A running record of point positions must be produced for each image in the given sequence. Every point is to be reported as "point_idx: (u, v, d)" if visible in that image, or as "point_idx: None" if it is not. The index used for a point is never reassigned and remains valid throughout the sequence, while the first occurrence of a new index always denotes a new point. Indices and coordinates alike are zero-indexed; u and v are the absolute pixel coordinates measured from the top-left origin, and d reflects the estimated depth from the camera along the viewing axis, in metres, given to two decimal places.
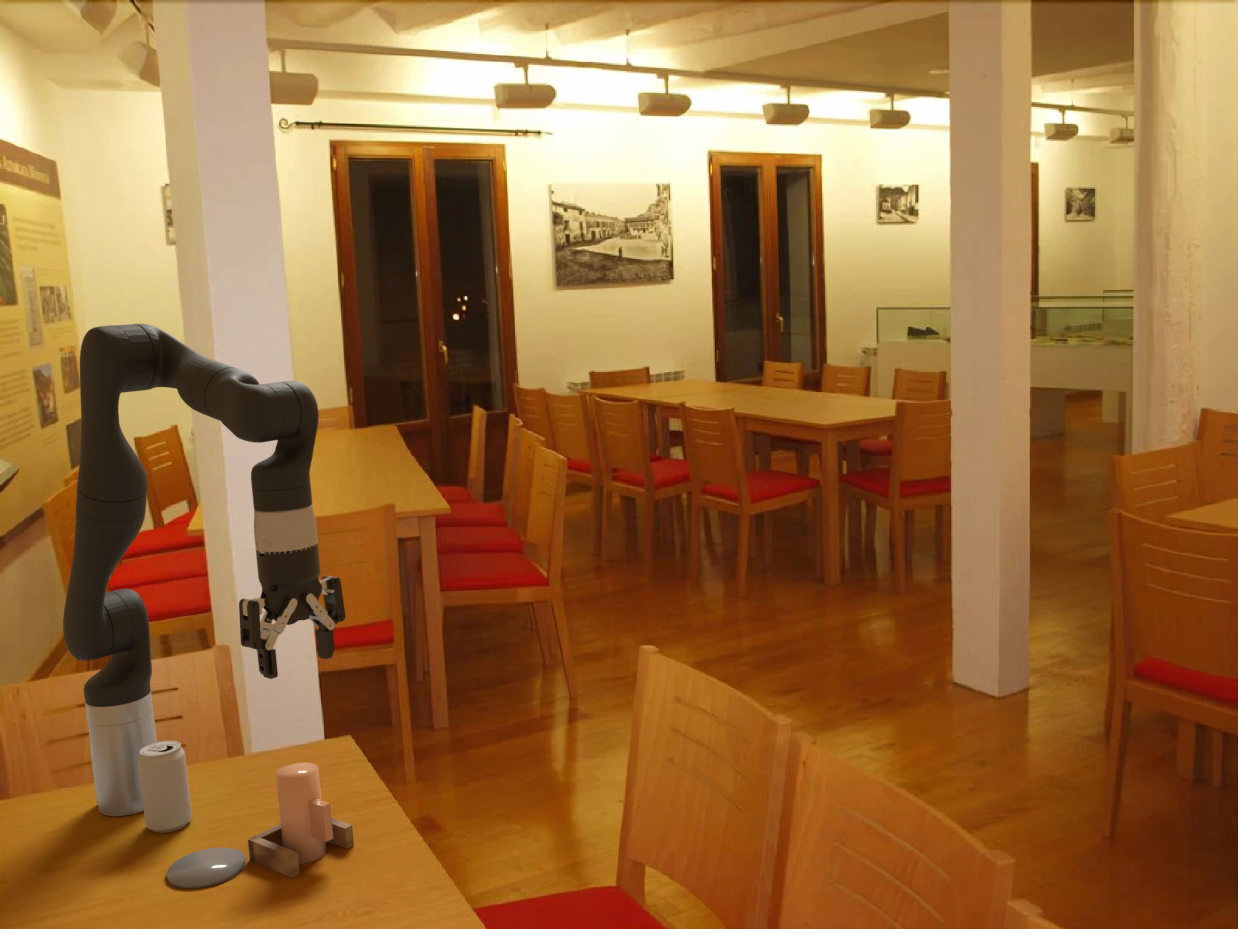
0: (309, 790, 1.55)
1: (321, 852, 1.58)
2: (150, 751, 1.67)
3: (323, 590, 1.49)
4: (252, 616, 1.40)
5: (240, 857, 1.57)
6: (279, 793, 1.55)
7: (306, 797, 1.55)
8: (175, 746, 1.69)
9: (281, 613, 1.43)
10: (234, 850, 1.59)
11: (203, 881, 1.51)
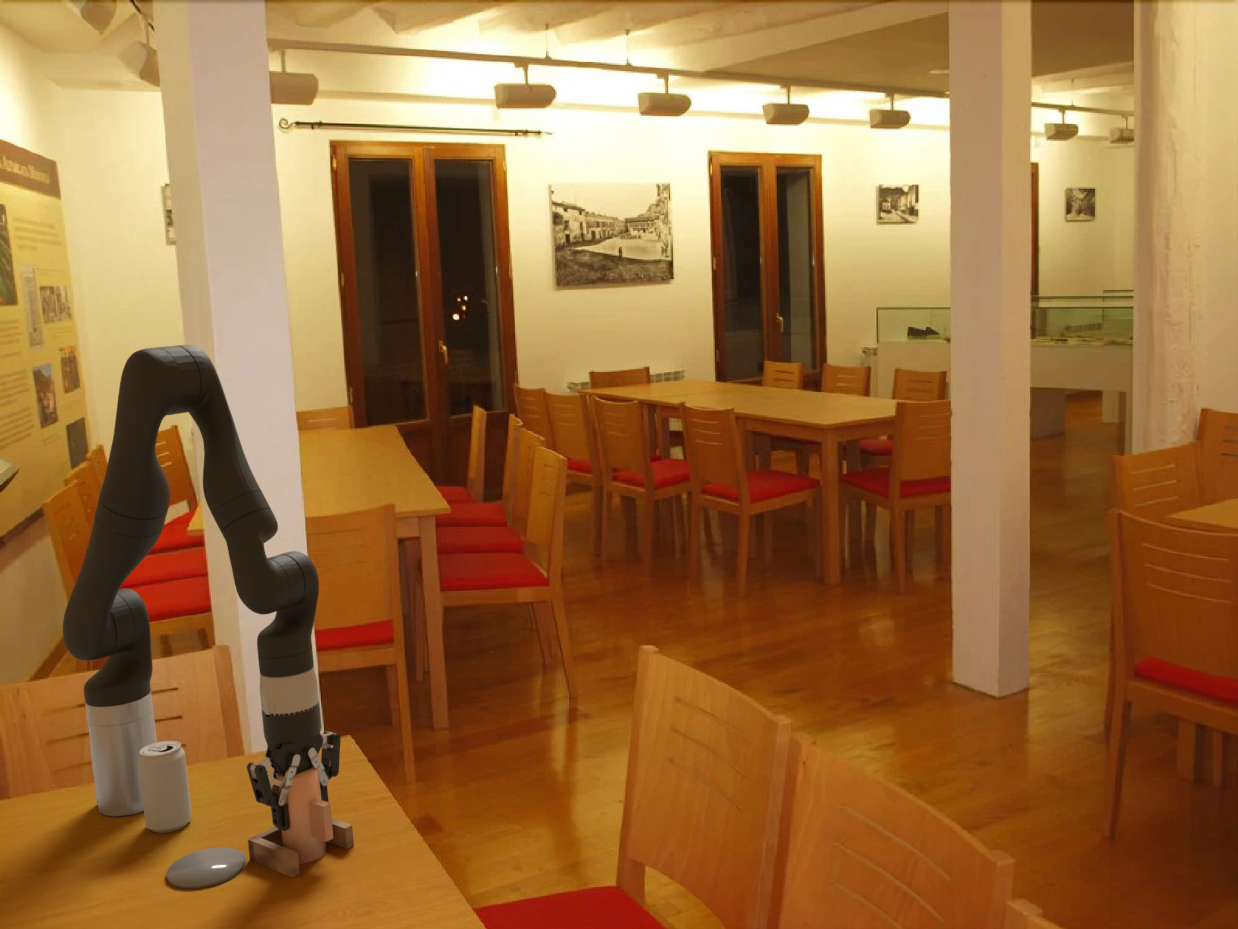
0: (309, 790, 1.55)
1: (321, 852, 1.58)
2: (150, 751, 1.67)
3: (323, 744, 1.60)
4: (261, 780, 1.51)
5: (240, 857, 1.57)
6: None
7: (306, 797, 1.55)
8: (175, 746, 1.69)
9: (287, 770, 1.54)
10: (234, 850, 1.59)
11: (203, 881, 1.51)
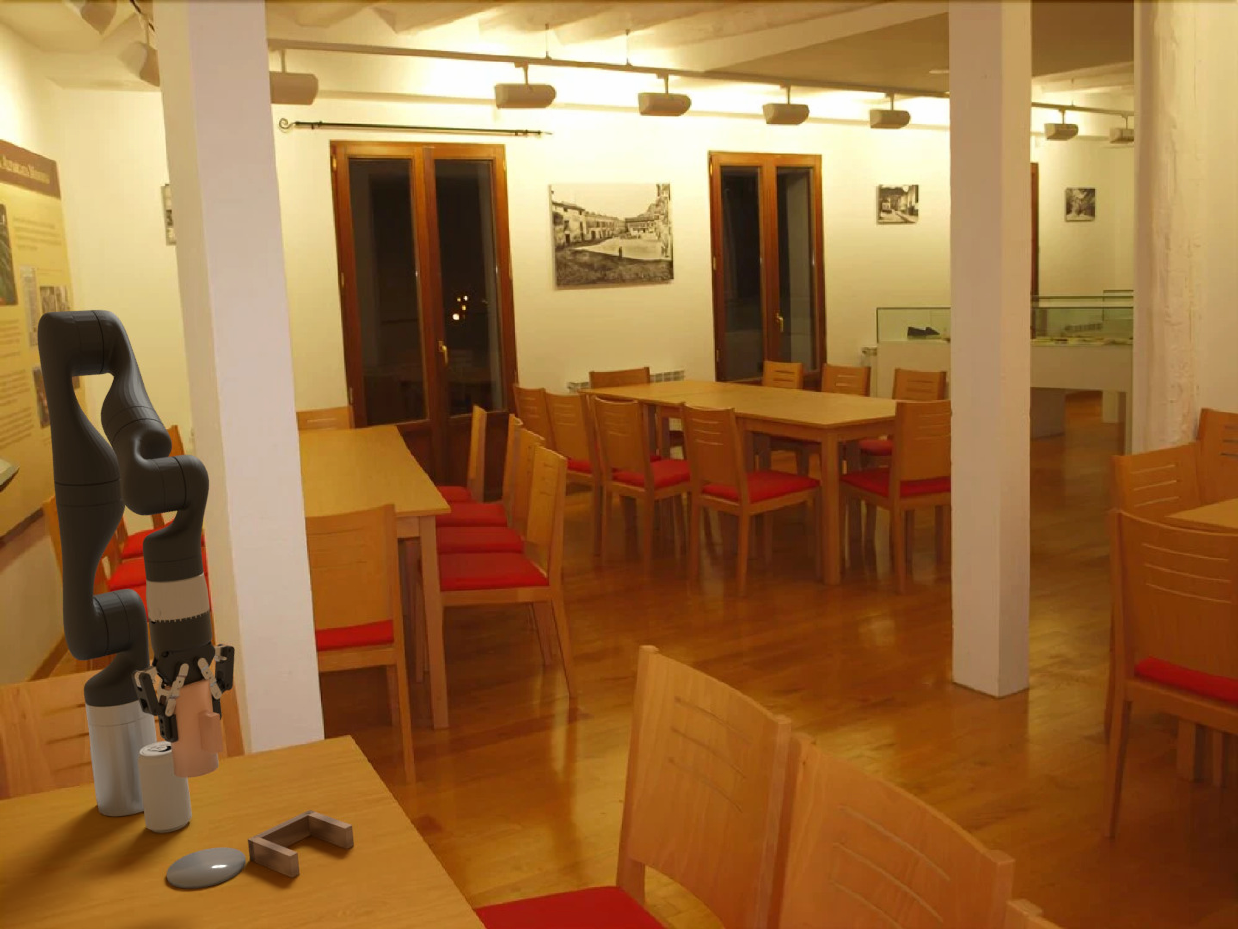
0: (199, 701, 1.50)
1: (212, 766, 1.53)
2: (150, 751, 1.67)
3: (216, 656, 1.55)
4: (145, 688, 1.46)
5: (240, 857, 1.57)
6: None
7: (195, 708, 1.50)
8: None
9: (174, 680, 1.49)
10: (234, 850, 1.59)
11: (203, 881, 1.51)
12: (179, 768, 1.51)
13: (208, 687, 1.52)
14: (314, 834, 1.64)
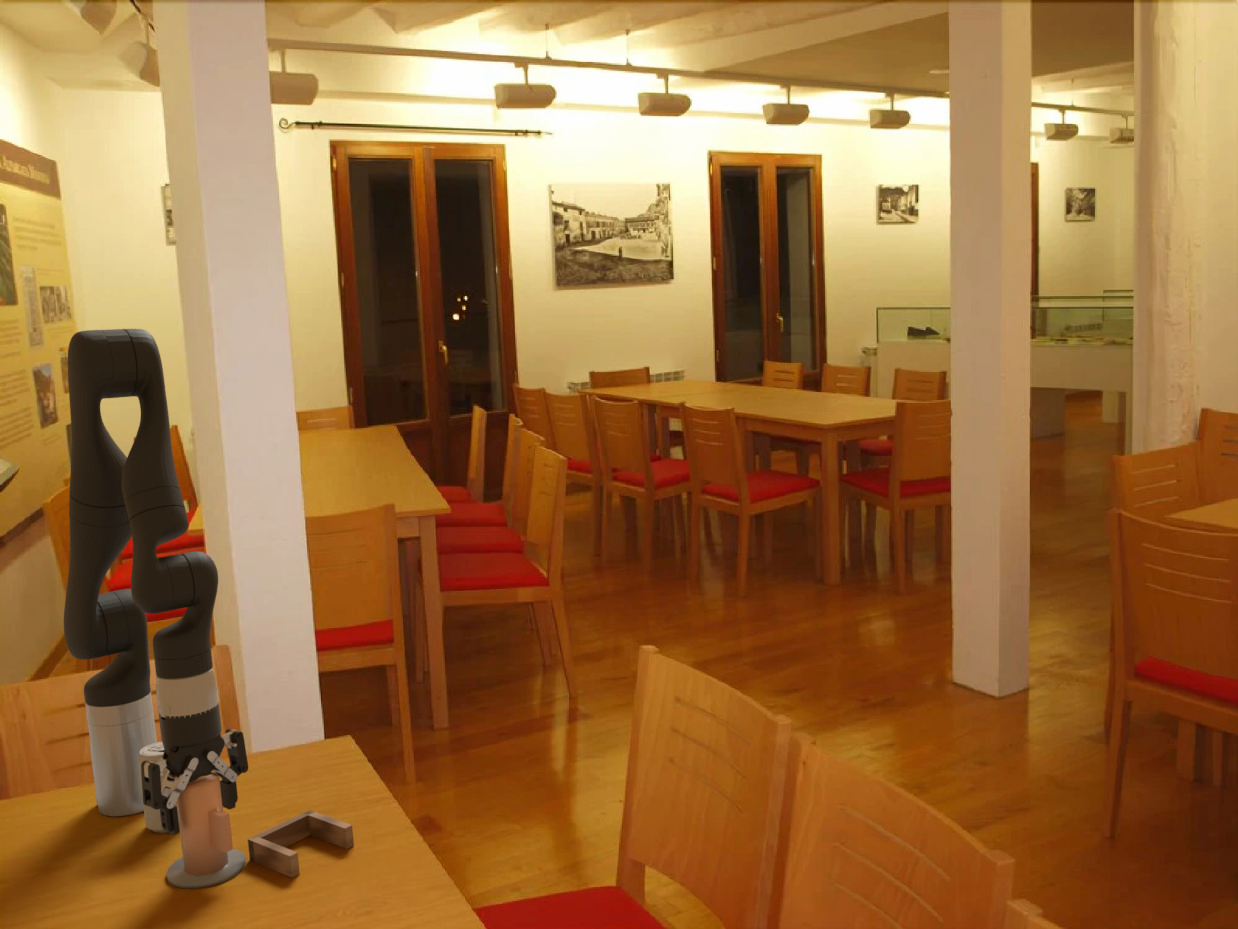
0: (209, 800, 1.52)
1: (222, 863, 1.55)
2: (150, 751, 1.67)
3: (226, 744, 1.57)
4: (153, 779, 1.47)
5: (240, 857, 1.57)
6: (178, 803, 1.52)
7: (205, 807, 1.52)
8: None
9: (182, 773, 1.50)
10: (234, 850, 1.59)
11: (203, 881, 1.51)
12: (189, 865, 1.53)
13: (218, 785, 1.54)
14: (314, 834, 1.64)
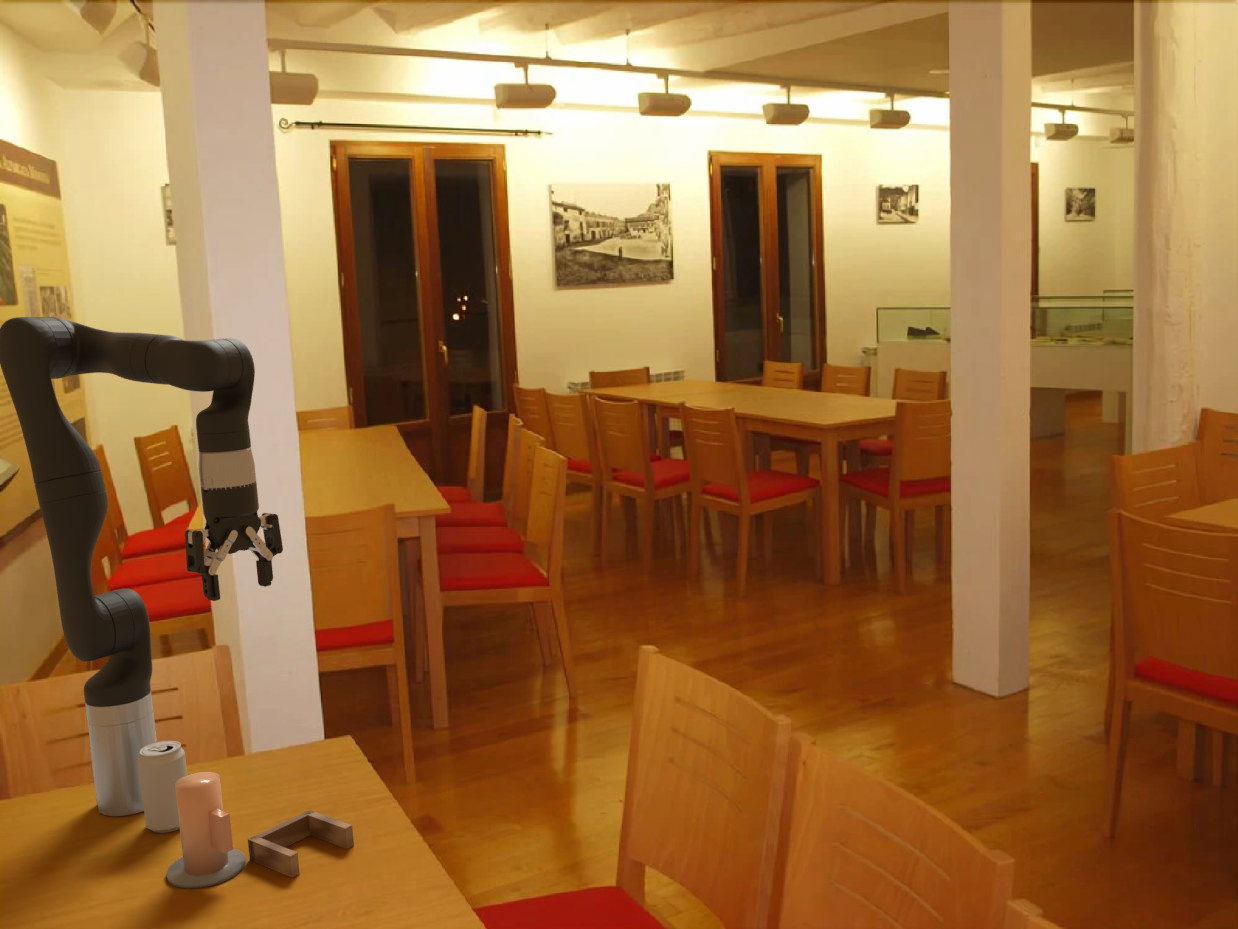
0: (209, 800, 1.52)
1: (222, 863, 1.55)
2: (150, 751, 1.67)
3: (262, 525, 1.68)
4: (196, 544, 1.59)
5: (240, 857, 1.57)
6: (178, 803, 1.52)
7: (206, 808, 1.52)
8: (175, 746, 1.69)
9: (223, 543, 1.62)
10: (234, 850, 1.59)
11: (203, 881, 1.51)
12: (190, 866, 1.53)
13: (218, 786, 1.54)
14: (314, 834, 1.64)
